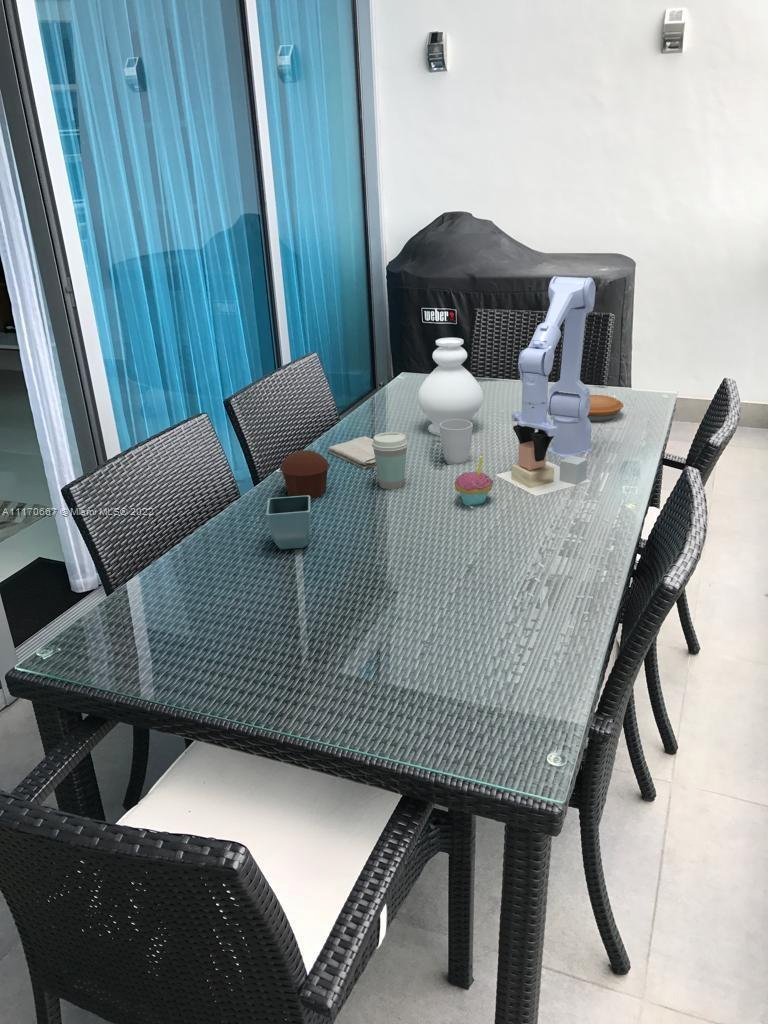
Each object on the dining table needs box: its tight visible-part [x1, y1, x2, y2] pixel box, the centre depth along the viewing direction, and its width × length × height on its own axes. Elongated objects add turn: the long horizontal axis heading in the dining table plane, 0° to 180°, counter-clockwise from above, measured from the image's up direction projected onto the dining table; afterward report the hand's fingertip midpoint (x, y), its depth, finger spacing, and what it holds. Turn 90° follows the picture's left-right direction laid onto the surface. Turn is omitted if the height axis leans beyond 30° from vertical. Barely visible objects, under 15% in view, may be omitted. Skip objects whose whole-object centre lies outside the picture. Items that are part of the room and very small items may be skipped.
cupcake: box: [454, 453, 494, 507], centre depth 195 cm, size 9×8×12 cm
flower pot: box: [265, 495, 311, 550], centre depth 180 cm, size 9×9×9 cm
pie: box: [587, 394, 624, 423], centre depth 250 cm, size 16×16×5 cm
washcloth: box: [327, 436, 377, 470], centre depth 228 cm, size 12×18×3 cm, turn 37°
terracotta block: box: [517, 441, 547, 470], centre depth 203 cm, size 4×4×5 cm
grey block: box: [559, 455, 588, 486], centre depth 204 cm, size 4×4×5 cm
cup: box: [440, 419, 473, 466], centre depth 219 cm, size 8×8×10 cm
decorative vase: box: [417, 337, 484, 437], centre depth 240 cm, size 18×18×25 cm
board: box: [495, 461, 591, 497], centre depth 208 cm, size 16×16×1 cm
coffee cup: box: [372, 431, 409, 490], centre depth 207 cm, size 8×8×12 cm
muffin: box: [279, 449, 331, 501], centre depth 205 cm, size 12×11×10 cm
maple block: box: [511, 463, 554, 488], centre depth 205 cm, size 7×7×4 cm
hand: (533, 457), depth 204 cm, fingers closed on terracotta block, 4 cm apart
